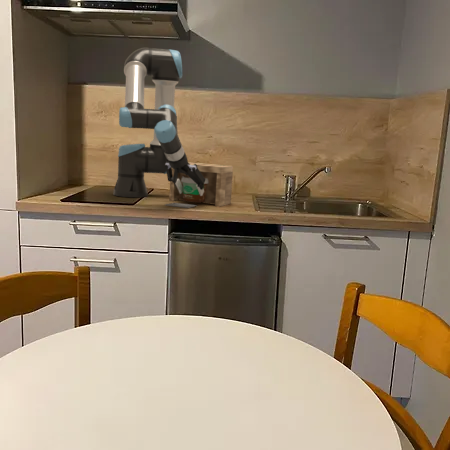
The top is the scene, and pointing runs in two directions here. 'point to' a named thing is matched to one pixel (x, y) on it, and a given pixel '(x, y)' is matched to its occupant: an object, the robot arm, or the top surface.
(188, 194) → the food container
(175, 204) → the grey mat
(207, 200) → the open oak shelf box
